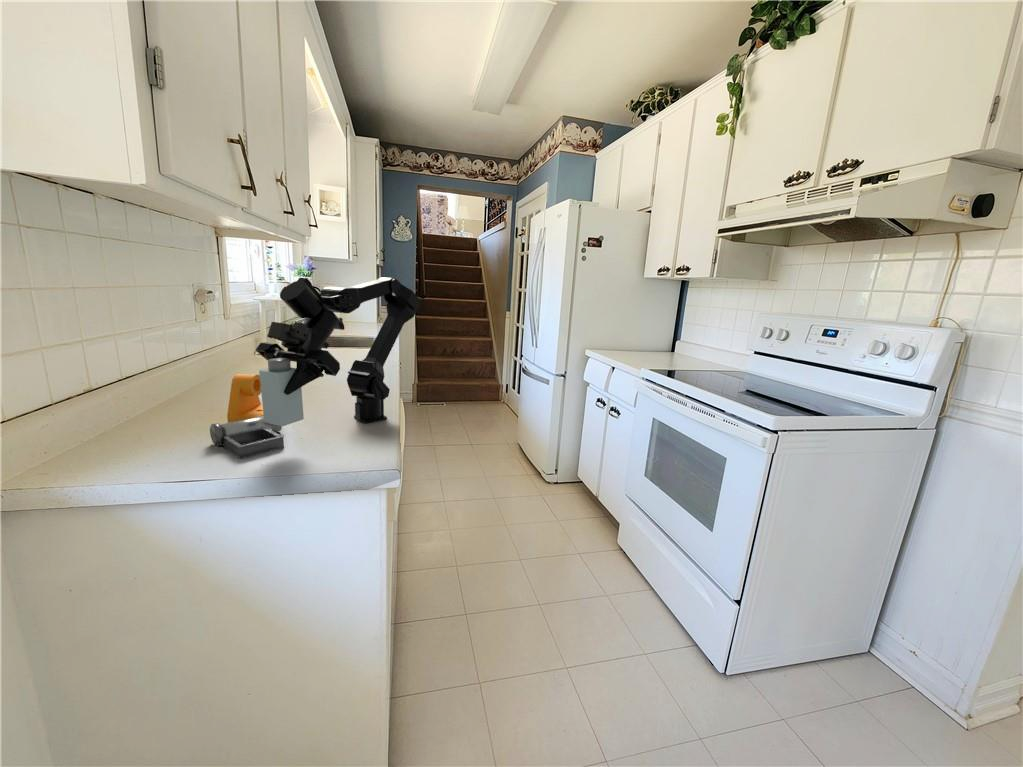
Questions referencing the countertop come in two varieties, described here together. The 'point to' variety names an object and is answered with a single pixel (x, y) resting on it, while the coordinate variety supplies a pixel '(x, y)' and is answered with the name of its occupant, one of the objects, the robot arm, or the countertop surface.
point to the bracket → (245, 398)
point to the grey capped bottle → (280, 394)
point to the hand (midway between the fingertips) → (275, 391)
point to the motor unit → (247, 436)
